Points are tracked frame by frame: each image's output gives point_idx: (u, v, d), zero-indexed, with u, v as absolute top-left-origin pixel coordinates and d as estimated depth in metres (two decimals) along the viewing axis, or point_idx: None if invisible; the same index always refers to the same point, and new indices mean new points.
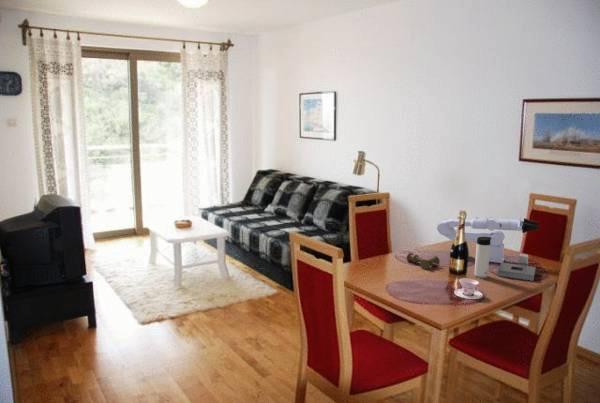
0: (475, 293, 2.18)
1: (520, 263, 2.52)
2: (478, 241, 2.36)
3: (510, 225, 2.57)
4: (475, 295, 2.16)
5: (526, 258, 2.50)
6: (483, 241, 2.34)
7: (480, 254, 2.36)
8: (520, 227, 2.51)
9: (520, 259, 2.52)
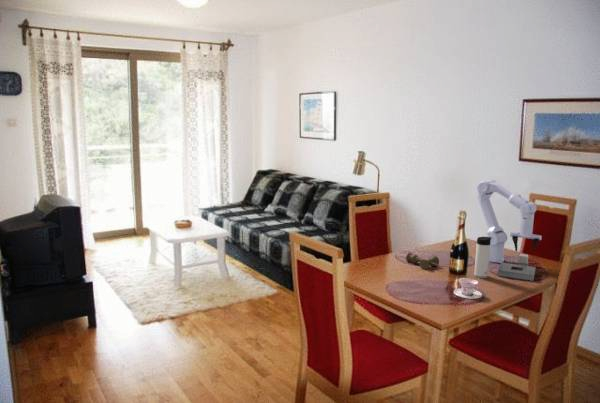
0: (474, 293, 2.19)
1: (520, 263, 2.52)
2: (478, 241, 2.36)
3: None
4: (474, 295, 2.16)
5: (526, 258, 2.50)
6: (483, 241, 2.34)
7: (480, 254, 2.36)
8: (510, 235, 2.53)
9: (520, 259, 2.52)
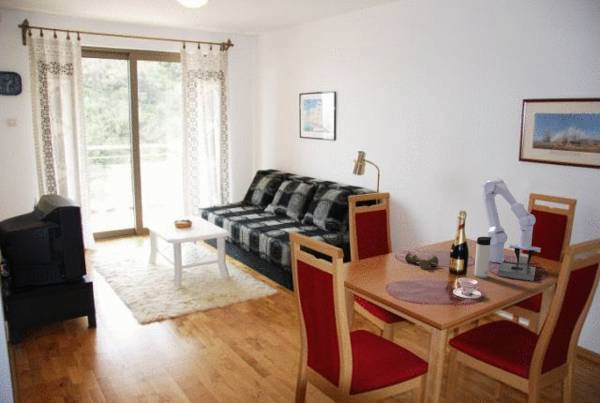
0: (474, 292, 2.19)
1: (520, 263, 2.52)
2: (478, 241, 2.36)
3: (519, 238, 2.52)
4: (474, 294, 2.17)
5: (526, 258, 2.50)
6: (483, 241, 2.34)
7: (480, 254, 2.36)
8: (509, 247, 2.55)
9: (520, 259, 2.52)
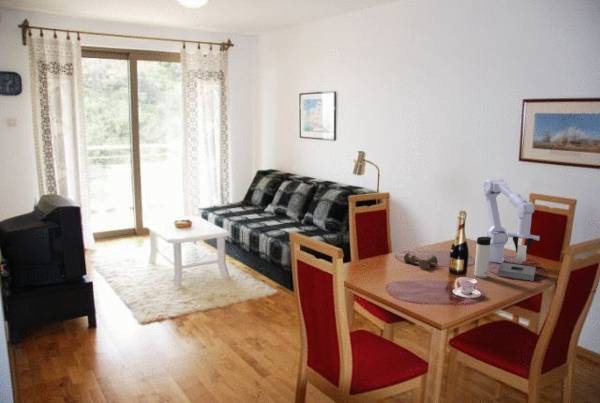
0: (473, 292, 2.20)
1: (518, 254, 2.46)
2: (478, 241, 2.36)
3: (518, 226, 2.46)
4: (473, 294, 2.18)
5: (525, 249, 2.45)
6: (483, 241, 2.34)
7: (480, 254, 2.36)
8: None
9: (518, 250, 2.46)
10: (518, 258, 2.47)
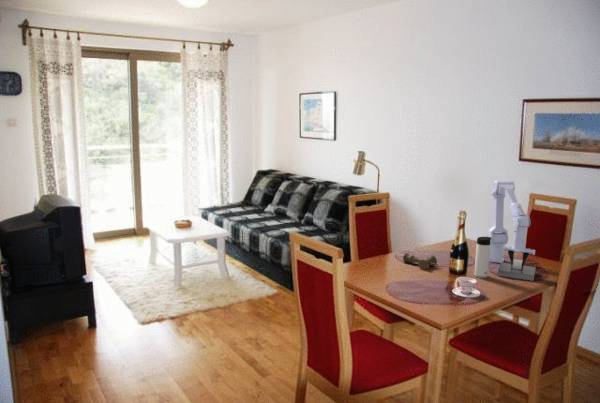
0: (473, 291, 2.20)
1: (514, 269, 2.43)
2: (478, 241, 2.36)
3: (513, 240, 2.42)
4: (473, 293, 2.18)
5: (520, 264, 2.41)
6: (483, 241, 2.34)
7: (480, 254, 2.36)
8: (502, 249, 2.45)
9: (514, 265, 2.42)
10: None
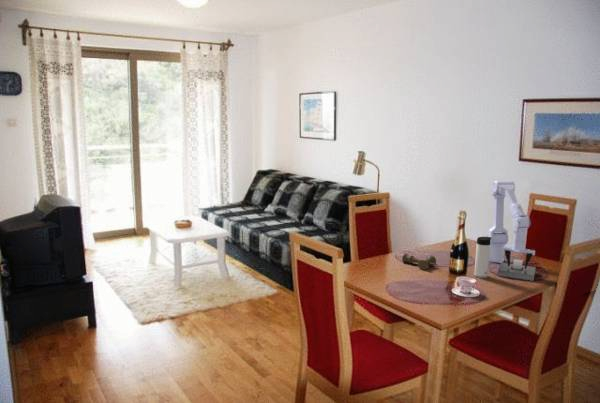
0: (472, 291, 2.21)
1: (514, 269, 2.43)
2: (478, 241, 2.36)
3: (513, 240, 2.42)
4: (472, 293, 2.18)
5: (520, 264, 2.41)
6: (483, 241, 2.34)
7: (480, 254, 2.36)
8: (502, 249, 2.45)
9: (514, 265, 2.42)
10: None
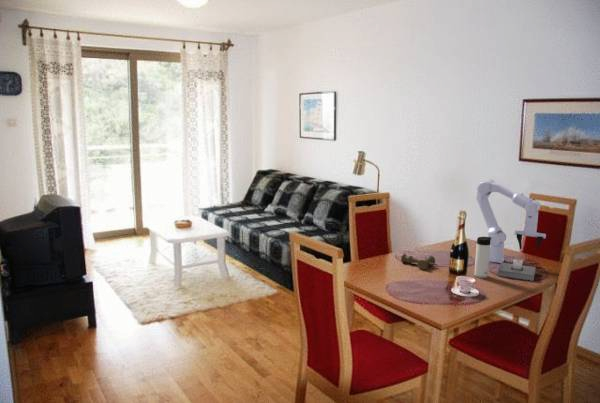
0: (472, 291, 2.21)
1: (514, 269, 2.43)
2: (478, 241, 2.36)
3: None
4: (472, 292, 2.19)
5: (520, 264, 2.41)
6: (483, 241, 2.34)
7: (480, 254, 2.36)
8: None
9: (514, 265, 2.42)
10: None
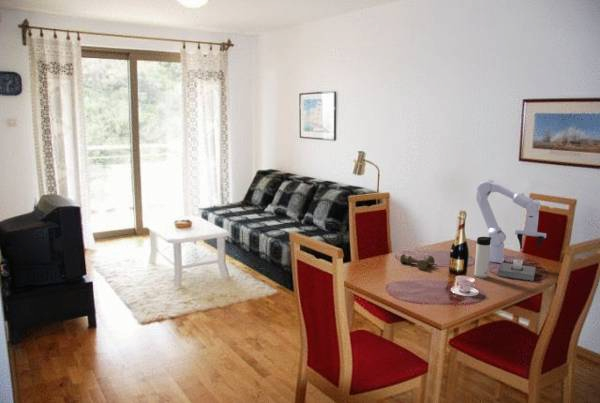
0: (471, 290, 2.22)
1: (514, 269, 2.43)
2: (478, 241, 2.36)
3: (525, 224, 2.53)
4: (471, 292, 2.19)
5: (520, 264, 2.41)
6: (483, 241, 2.34)
7: (480, 254, 2.36)
8: (515, 233, 2.56)
9: (514, 265, 2.42)
10: None
